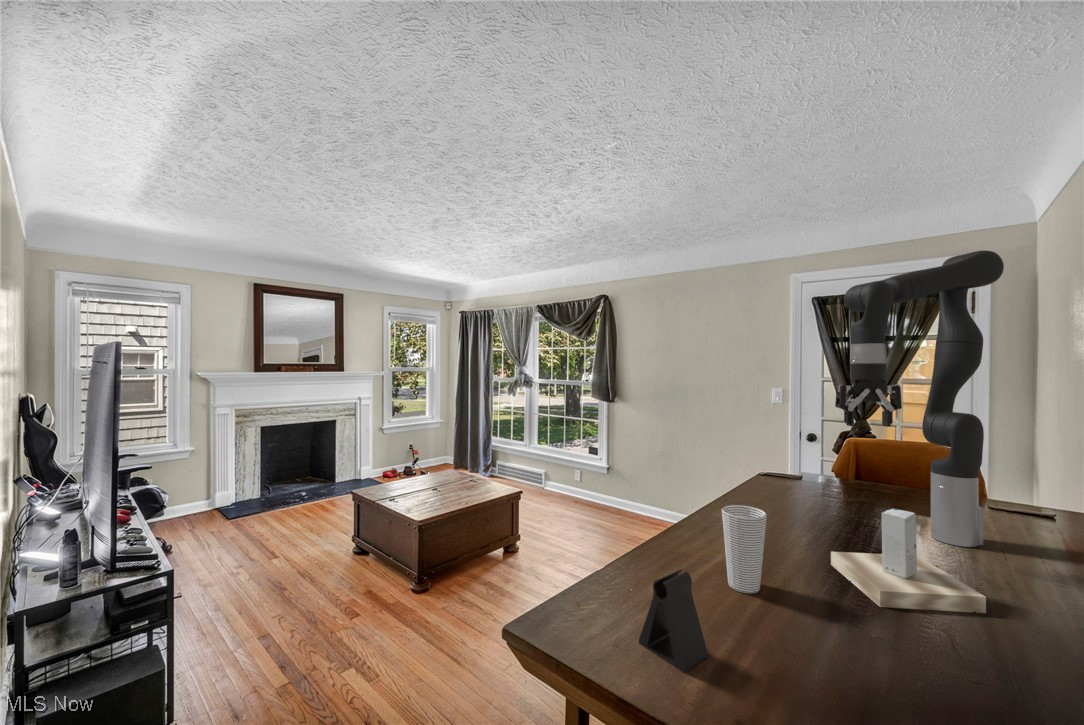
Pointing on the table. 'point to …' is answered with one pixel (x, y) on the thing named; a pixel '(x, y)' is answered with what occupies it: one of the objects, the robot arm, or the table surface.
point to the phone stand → (674, 623)
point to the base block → (907, 585)
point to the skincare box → (899, 543)
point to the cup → (744, 546)
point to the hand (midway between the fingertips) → (867, 426)
